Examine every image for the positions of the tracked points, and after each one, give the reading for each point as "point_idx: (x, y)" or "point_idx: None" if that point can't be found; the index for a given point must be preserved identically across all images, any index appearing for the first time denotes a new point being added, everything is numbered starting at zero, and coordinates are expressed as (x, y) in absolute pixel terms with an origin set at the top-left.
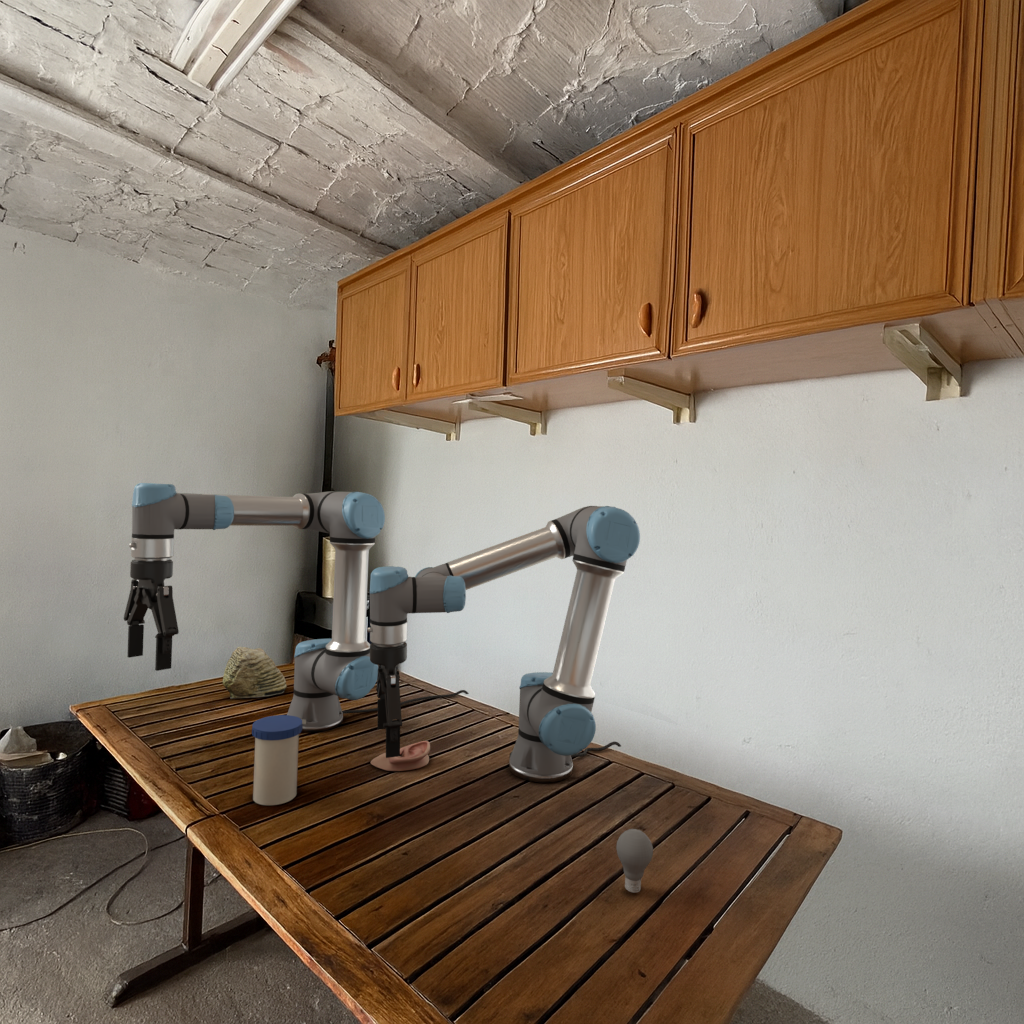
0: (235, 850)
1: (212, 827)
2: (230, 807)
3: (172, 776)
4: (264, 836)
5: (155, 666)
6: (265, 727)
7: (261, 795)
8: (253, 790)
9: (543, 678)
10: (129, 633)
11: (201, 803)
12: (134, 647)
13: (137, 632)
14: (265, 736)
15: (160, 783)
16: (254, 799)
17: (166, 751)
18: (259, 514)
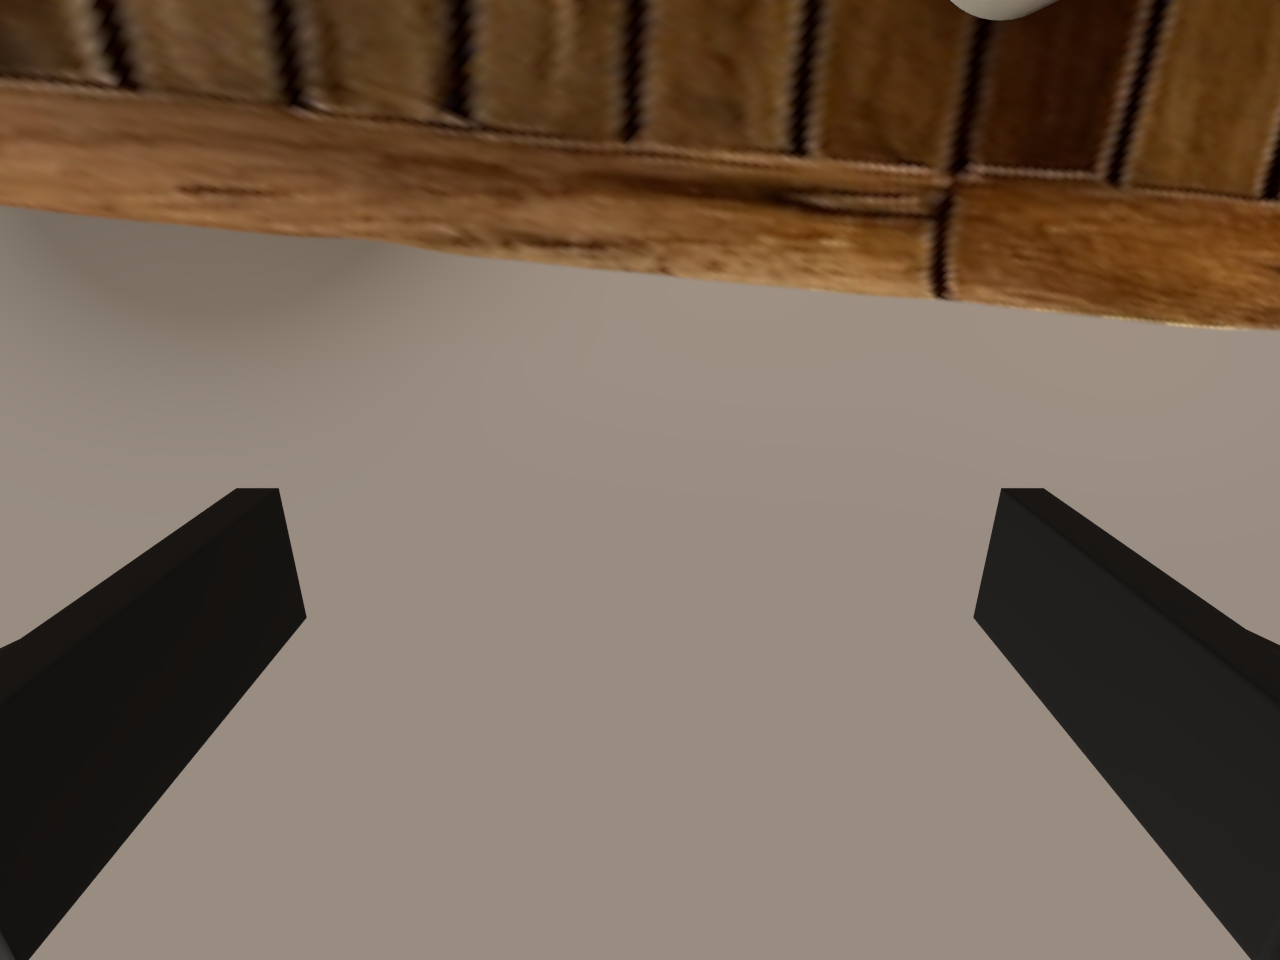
0: (1203, 264)
1: (1018, 246)
2: (946, 122)
3: (517, 159)
4: (1227, 146)
5: (996, 640)
6: None
7: (1054, 2)
8: (990, 3)
9: None
10: (109, 846)
11: (830, 188)
12: (236, 631)
13: (79, 753)
14: None
15: (552, 224)
16: (991, 16)
17: (214, 51)
18: None
